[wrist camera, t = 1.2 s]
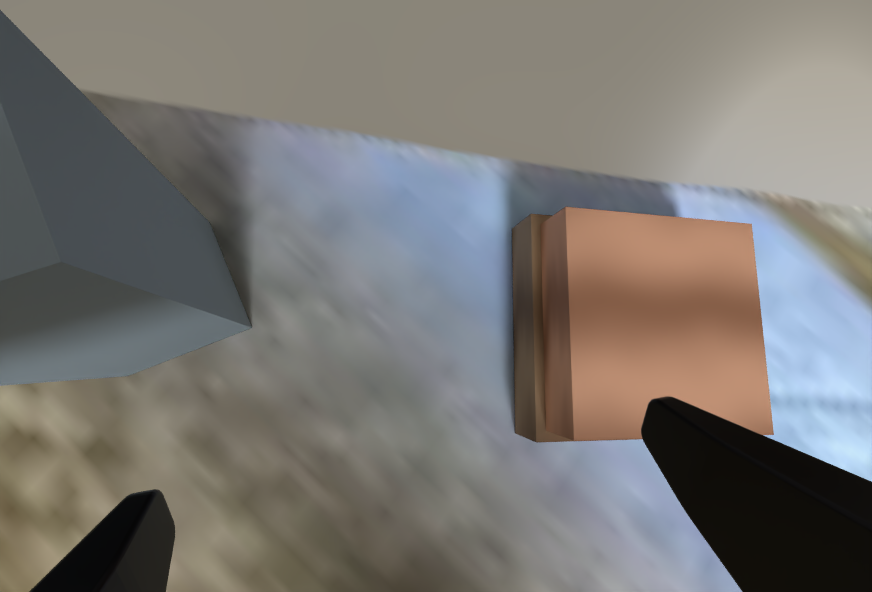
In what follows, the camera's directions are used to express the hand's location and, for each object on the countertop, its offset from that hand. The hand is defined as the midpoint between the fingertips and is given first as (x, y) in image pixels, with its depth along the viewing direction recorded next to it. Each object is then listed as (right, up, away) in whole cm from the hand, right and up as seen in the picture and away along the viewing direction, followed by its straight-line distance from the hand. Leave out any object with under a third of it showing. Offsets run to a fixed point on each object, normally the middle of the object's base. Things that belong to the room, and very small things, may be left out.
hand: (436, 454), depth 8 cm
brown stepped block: (+10, +1, +16) cm, 19 cm away
